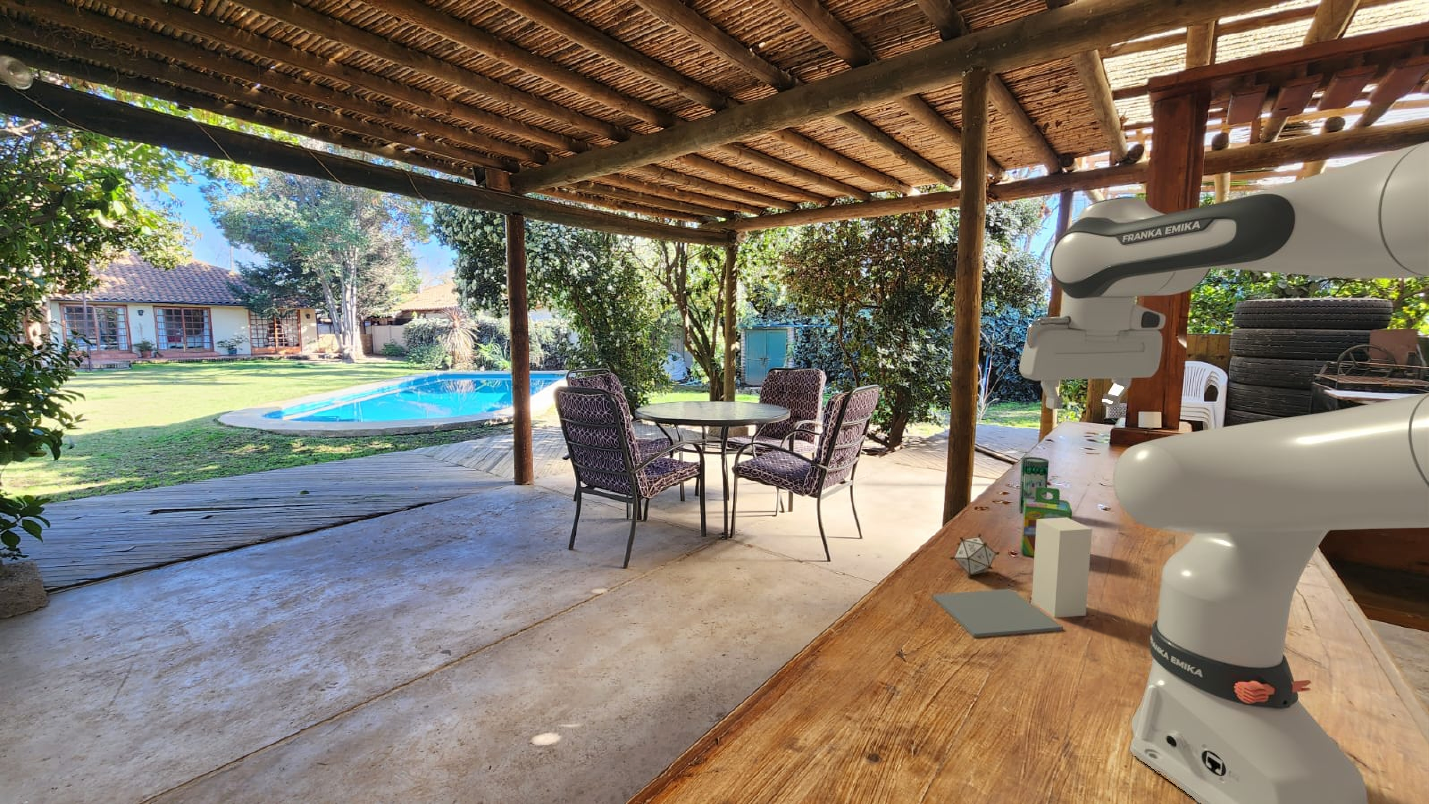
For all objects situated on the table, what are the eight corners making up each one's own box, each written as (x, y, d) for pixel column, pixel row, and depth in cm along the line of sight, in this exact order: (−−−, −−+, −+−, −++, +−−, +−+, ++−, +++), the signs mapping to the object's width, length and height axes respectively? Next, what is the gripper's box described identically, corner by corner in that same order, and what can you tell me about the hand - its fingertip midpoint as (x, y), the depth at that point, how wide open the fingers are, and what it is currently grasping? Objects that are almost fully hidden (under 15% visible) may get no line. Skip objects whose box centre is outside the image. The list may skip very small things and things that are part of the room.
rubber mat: (1062, 630, 95) (1063, 626, 95) (973, 637, 93) (973, 633, 93) (1010, 591, 108) (1010, 589, 108) (932, 597, 107) (932, 594, 107)
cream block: (1086, 615, 99) (1092, 528, 97) (1054, 617, 99) (1060, 530, 97) (1062, 599, 105) (1067, 517, 103) (1031, 601, 105) (1036, 519, 103)
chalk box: (1021, 555, 125) (1024, 491, 123) (1020, 541, 133) (1023, 481, 131) (1069, 563, 121) (1074, 497, 119) (1065, 548, 129) (1070, 486, 127)
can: (1022, 515, 151) (1025, 461, 149) (1017, 508, 157) (1020, 456, 155) (1047, 517, 150) (1050, 462, 148) (1041, 510, 155) (1044, 457, 153)
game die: (982, 594, 116) (1008, 569, 109) (942, 577, 117) (965, 551, 110) (982, 559, 122) (1006, 533, 115) (944, 543, 123) (966, 517, 117)
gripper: (1044, 318, 78) (1032, 414, 81) (1177, 316, 80) (1160, 409, 83) (1016, 315, 84) (1005, 404, 87) (1139, 313, 86) (1125, 400, 90)
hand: (1082, 407), depth 85 cm, fingers open, 8 cm apart
